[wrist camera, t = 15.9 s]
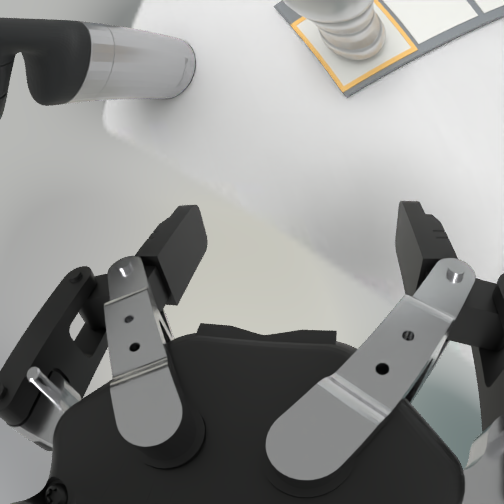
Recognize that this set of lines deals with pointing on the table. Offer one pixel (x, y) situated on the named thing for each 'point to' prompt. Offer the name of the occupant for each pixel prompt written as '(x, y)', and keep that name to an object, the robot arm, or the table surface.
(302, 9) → the plastic bottle
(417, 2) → the board
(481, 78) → the table surface
